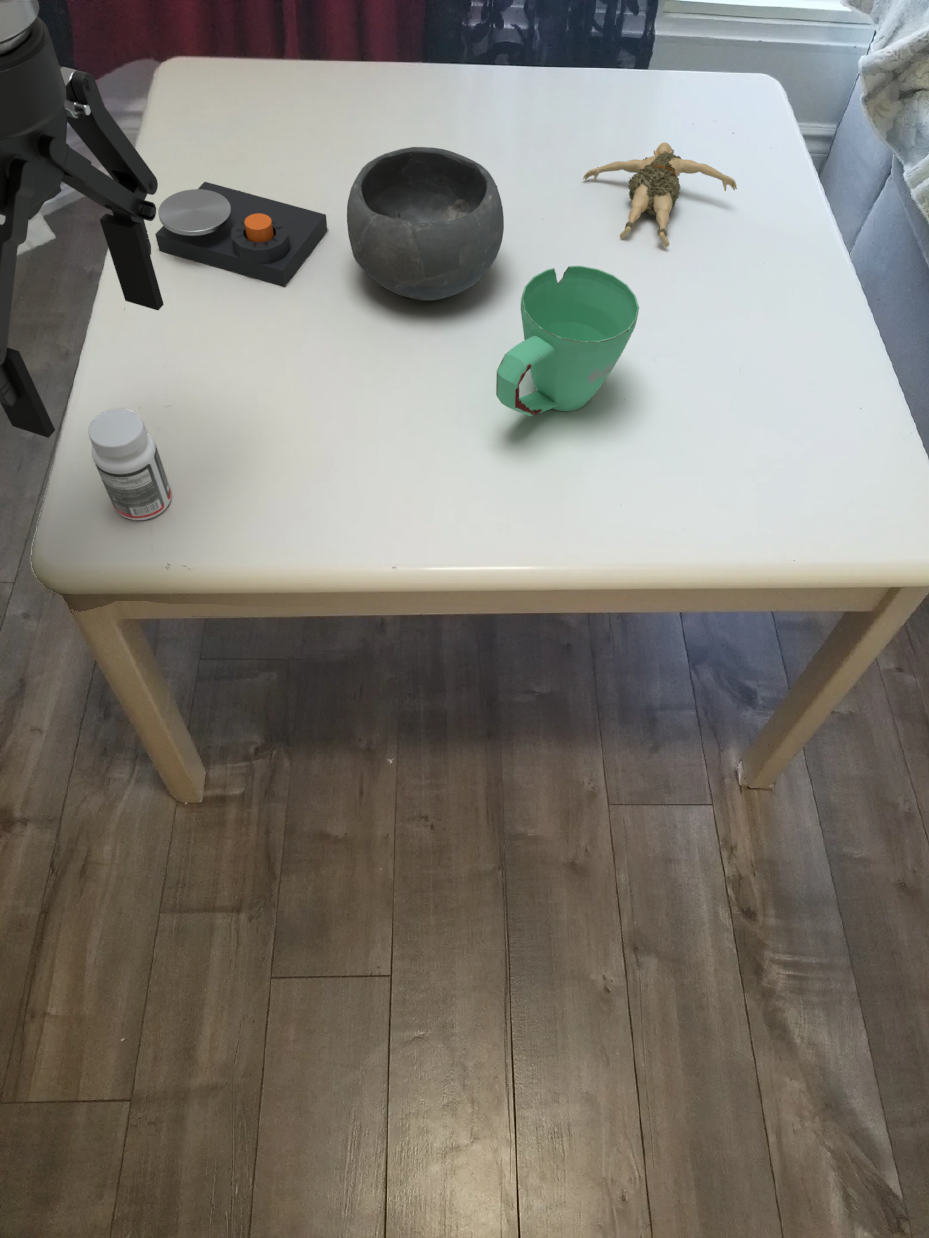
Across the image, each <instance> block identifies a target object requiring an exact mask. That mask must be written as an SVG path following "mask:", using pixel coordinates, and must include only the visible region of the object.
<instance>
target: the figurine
mask: <svg viewBox="0 0 929 1238" xmlns="http://www.w3.org/2000/svg"><path fill="white" fill-rule="evenodd" d="M674 153H675V149H673V147H671V145H670V144H669V143H668V142H661V143H660V144H659V145H658V147H656V149H653V156H649V157H648V156H646V157H645V158H643V159H630V160H626V161H621V160H620V161H614V162H610V163H608V164H605V165H602V166H596V168H592V169H590V170H588V171H586V172H585V174H584V175H583V178H582V180H585V181H586V180H588V179H589V178H590V177H593V179H592V183H595V182H596V181H597V178H598V177H599V174H602V173H608V172H619V171H624V172H627V173H631V174H633V173H635V174H633V175H632V176H631V177H629V180H628V181H627V184H628V190H629V191H628V196H629V199H630V201H631V203H630V207H631V209H630V210H629V212H628V221H627V222H626V223H625V227H624V230H623V231H621V233H619V238H620V239H621V240H623V239H625V238H626V236H627V234H629V232H630V231H632V230H633V227H634V222H636V221H637V220H638V219H640V217H641V216H642V213H644V212H646V213H648V214H649V216H655V219H656V222H657V223H658V225H659V229H658V230H657V236H658V237H659V238H660V239H661V241H662V244H663V246H664V247H665V248H669V246H670V241H669V240H668V238H667V236H668V230H667V229H666V228H667V226H668V223H669V221H670V213H671V210H672V209H674V208H675V206H676V201H678V199H679V195H680V191H681V186H680V178H679V176H680V174H682V173H684V174H690V175H691V174H697V173H701V174H703V175H705V176H707V177H708V176H709V177H712V178H714V179H717V180H719V181H721V183H722V187H723V191H724V192H726V191H727V186H730V187H731V188H732V190H733V191H736V190H738V187H737V186H738V185H737V183H736V181H735V179H734V178H733V177H731V176H728V175H727V174H723V173H722V172H720V171H718V170H717V169H716V168H714V167H712V166H710V165H709V164H707V163H701V162H700V163H699V162H696V161H694V160H692V159H683V158H682V157H681V155H676V154H674Z"/></svg>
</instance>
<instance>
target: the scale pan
mask: <svg viewBox="0 0 929 1238" xmlns="http://www.w3.org/2000/svg"><path fill="white" fill-rule="evenodd" d="M157 211H158V212H157V215H158V218H159V221H160V224H161V225H162V226H164V227H165V228H167V229H168V230H170V231H172V232H174V233H177V234H181V235H188V236H197V235H205V234H209V233H212V232H215V231H217V230H219V229H221V228H222V227H224V226H225V225H226V224H227V223H228V221H229V220H230V218H231V214H232V211H231V206H230V203H229V201H228V200H227V199H226V198H225V197H224V196H222V195H221V194H219V193H216V192H213V191H210V190H203V189H198V188H193V189H187V190H182V191H181V190H180V191H178V192H176V193H173V194H171V195H169V196H168V197H166V198H165V199H164V200H163V201H162V202H161V204H159V207H158V209H157Z"/></svg>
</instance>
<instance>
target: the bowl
mask: <svg viewBox="0 0 929 1238" xmlns="http://www.w3.org/2000/svg"><path fill="white" fill-rule="evenodd" d="M346 222H347V223H346V224H347V235H348V239H349V244H350V249H351V251H352V252H351V253H352V255H353V258H354V260H355V261H356V263H357V264H358V265H359V267H360V268H361V269H362V271H363V272H364V273H365V274H366V275H367V276H369V277H370V278H371V279H372V280H373V281H374V282H376V283H377V284H379V285H380V286H381V287H383V288H385V289H386V290H388V291H391V292H392V293H395V294H397V295H399V296H402V297H405V298H410V299H413V300H417V301H418V300H419V301H438V300H443V299H445V298H449V297H452V296H455V295H458V294H460V293H462V292H464V291H466V290H468V289H469V288H471V287H472V286H474V285H475V284H476V283H477V282H478V281H480V280H481V278H483V276H485V274H487V272H488V271H489V269H490V268H491V267H492V265H493V263H494V262H495V260H496V258H497V257H498V254H499V251H500V249H501V246H502V242H503V238H504V237H503V236H504V230H505V219H504V207H503V203H502V198H501V195H500V192H499V189H498V186H497V183H496V181H495V180H494V178H493V175H492V174H491V173H490V172H489V171H488V169H486V168H485V167H484V166H483V165H482V164H480V163H478V162H477V161H475V160H473V159H470V158H469V157H467V156H464V155H461V154H459V153H456V152H454V151H451V150H448V149H444V148H438V147H431V146H430V147H428V146H410V147H404V148H400V149H396V150H393V151H389V152H386V153H383V154H381V155H379V156H377V157H375V158H373V159H372V160H370V161H367V163H366V164H364V166H363V167H362V168H361V169H360V171H359V172H358V174H357V175H356V178H355V179H354V181H353V183H352V186H351V187H350V191H349V195H348V199H347V204H346Z"/></svg>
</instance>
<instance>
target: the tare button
mask: <svg viewBox="0 0 929 1238" xmlns="http://www.w3.org/2000/svg"><path fill="white" fill-rule="evenodd" d="M244 223H245V229H246V235H247V238H248V240H249V241H252V242H266V241H269V240H271V239H272V238H273V235H274V234H273V227H272V220H271V218H270V217H269V216H267V215H265V214H252V215H250V216H248V217H247V218H246V219H245V221H244Z"/></svg>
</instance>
